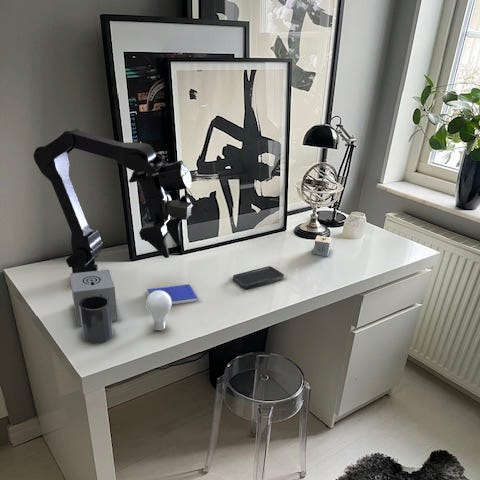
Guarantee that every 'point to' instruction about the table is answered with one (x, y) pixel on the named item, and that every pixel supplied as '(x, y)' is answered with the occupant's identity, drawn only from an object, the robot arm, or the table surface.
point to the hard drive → (178, 293)
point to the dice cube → (322, 245)
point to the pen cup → (96, 318)
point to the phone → (258, 277)
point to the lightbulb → (158, 307)
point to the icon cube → (93, 289)
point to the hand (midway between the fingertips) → (173, 250)
